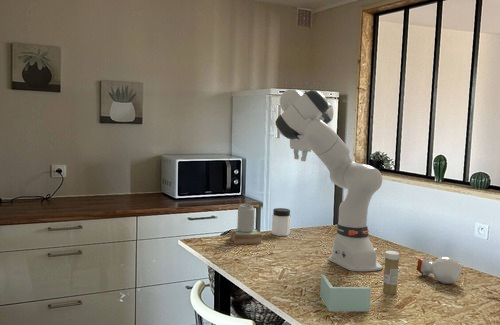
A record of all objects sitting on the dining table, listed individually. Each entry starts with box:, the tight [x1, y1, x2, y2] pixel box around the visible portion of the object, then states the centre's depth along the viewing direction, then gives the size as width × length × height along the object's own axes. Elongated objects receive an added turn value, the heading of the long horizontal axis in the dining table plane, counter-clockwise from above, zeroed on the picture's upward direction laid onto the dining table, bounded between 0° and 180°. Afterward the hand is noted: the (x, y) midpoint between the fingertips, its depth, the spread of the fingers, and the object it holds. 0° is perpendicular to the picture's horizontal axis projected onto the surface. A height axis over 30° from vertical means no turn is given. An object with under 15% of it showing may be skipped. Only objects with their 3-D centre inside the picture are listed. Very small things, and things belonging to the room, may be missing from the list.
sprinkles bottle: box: [382, 250, 401, 295], centre depth 152 cm, size 5×5×14 cm
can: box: [236, 203, 255, 233], centre depth 212 cm, size 8×8×12 cm
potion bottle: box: [416, 255, 462, 285], centre depth 166 cm, size 9×10×15 cm
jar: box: [271, 207, 291, 237], centre depth 227 cm, size 9×8×12 cm
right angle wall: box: [319, 274, 372, 312], centre depth 142 cm, size 12×12×8 cm
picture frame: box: [230, 228, 262, 245], centre depth 212 cm, size 10×12×4 cm
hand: (299, 160), depth 214 cm, fingers open, 8 cm apart
